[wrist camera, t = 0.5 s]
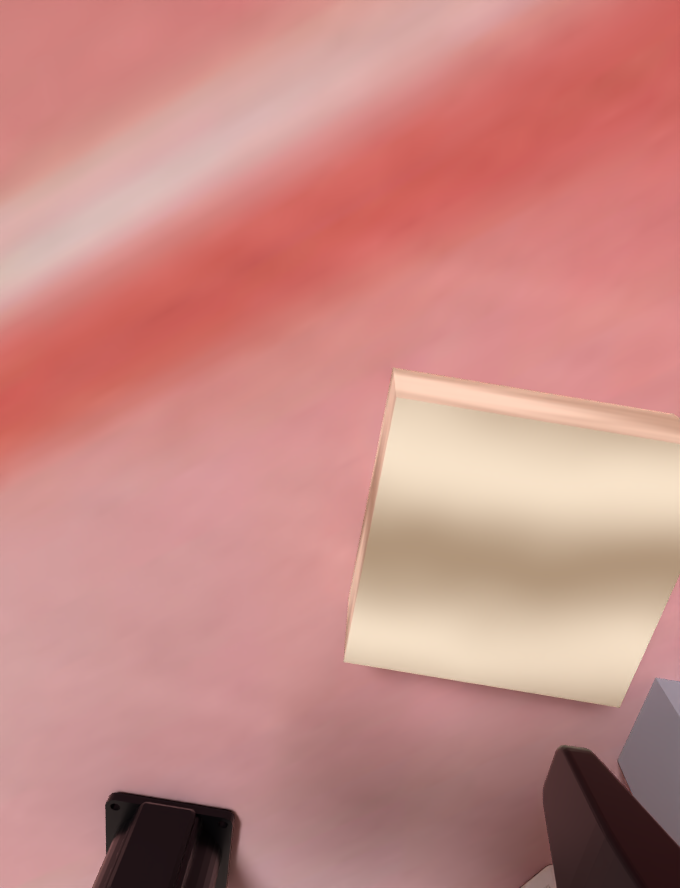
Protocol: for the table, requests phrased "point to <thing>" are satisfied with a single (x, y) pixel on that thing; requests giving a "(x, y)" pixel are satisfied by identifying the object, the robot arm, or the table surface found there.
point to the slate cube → (656, 756)
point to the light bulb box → (542, 879)
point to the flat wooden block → (515, 538)
